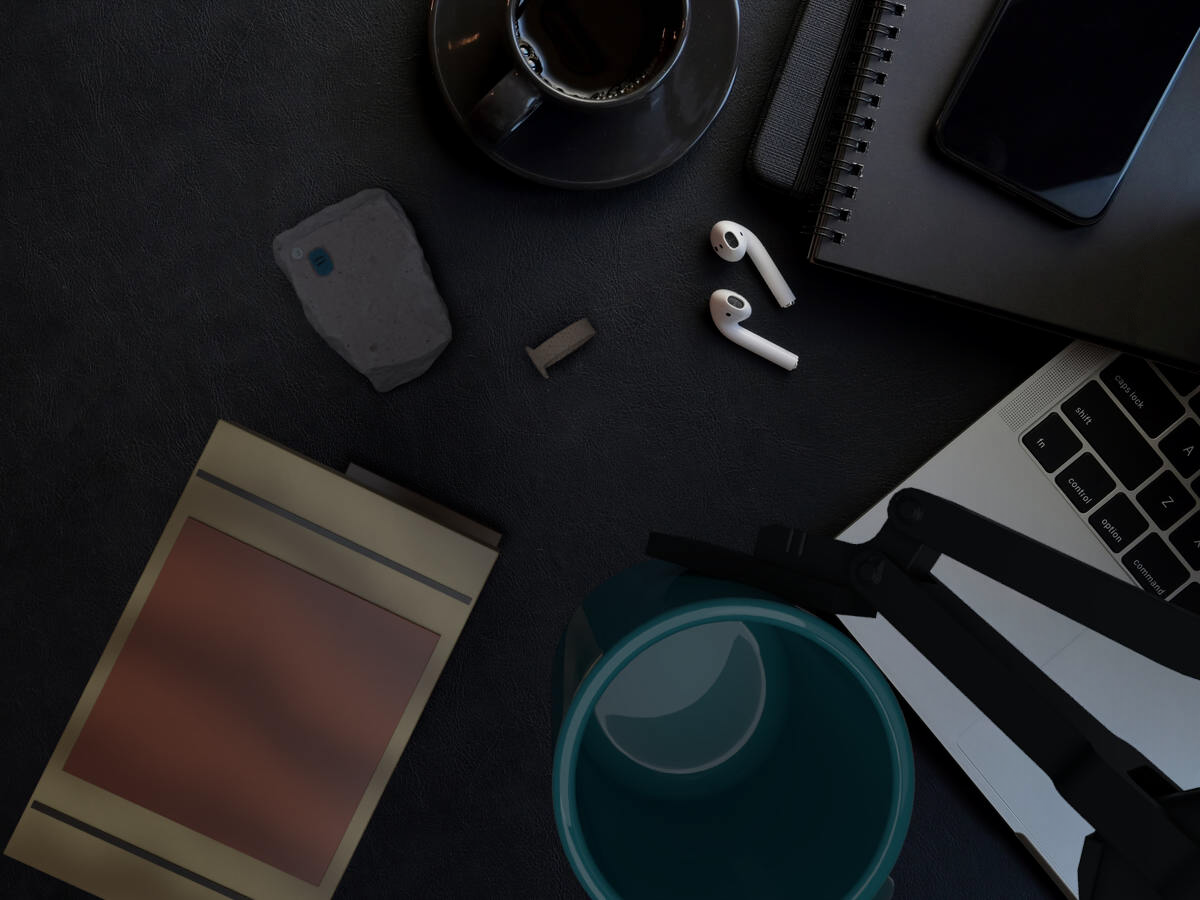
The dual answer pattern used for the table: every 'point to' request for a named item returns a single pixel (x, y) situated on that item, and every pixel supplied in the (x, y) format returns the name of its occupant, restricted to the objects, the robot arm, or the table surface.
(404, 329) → the decorative stone
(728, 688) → the cup
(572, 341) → the flanged peg
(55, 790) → the board
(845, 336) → the table surface
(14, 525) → the table surface
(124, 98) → the table surface
